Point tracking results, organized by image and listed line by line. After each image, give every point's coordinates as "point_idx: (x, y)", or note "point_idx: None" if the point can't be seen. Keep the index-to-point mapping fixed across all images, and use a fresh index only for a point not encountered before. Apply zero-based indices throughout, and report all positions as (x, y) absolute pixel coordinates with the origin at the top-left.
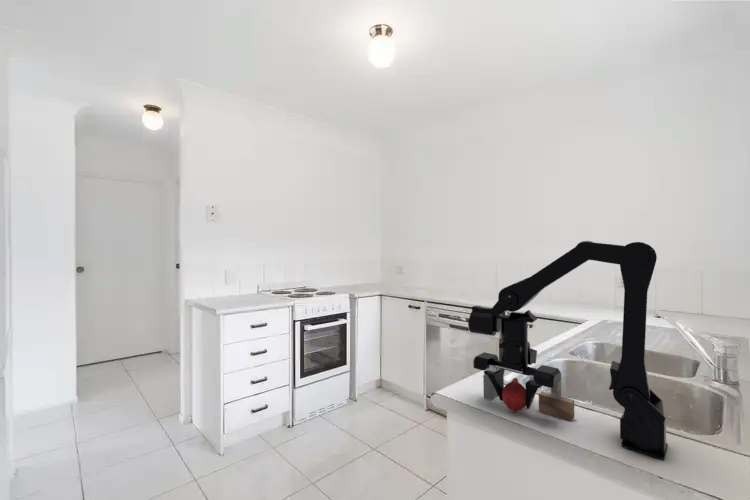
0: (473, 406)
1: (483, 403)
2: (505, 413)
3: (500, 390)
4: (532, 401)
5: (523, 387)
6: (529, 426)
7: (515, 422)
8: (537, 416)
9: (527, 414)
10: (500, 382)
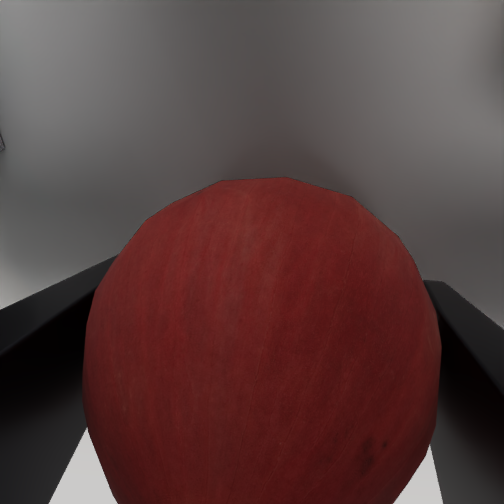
0: None
1: (15, 241)
2: None
3: None
4: (495, 324)
5: (385, 478)
6: None
7: None
8: (494, 198)
9: (393, 215)
10: (5, 472)
